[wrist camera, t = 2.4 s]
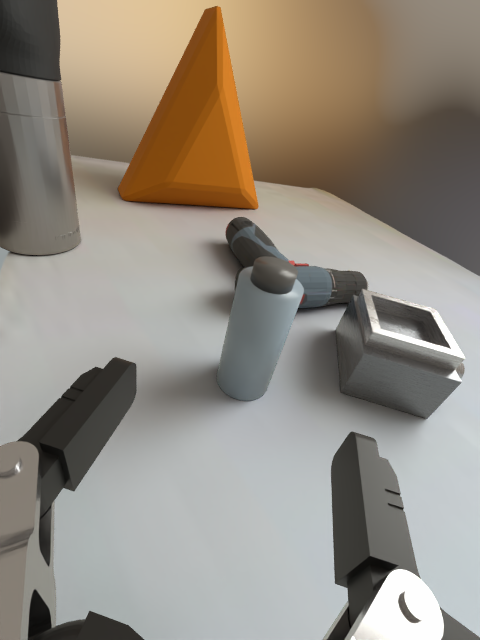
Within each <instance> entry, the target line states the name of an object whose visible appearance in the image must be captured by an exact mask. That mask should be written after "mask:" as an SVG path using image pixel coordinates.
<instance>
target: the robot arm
mask: <svg viewBox="0 0 480 640" xmlns="http://www.w3.org/2000/svg"><path fill="white" fill-rule="evenodd" d="M59 58H60V29H59V18H58V7H57V0H0V247H1V248H4V249H6V250H8V251H11V252H14V253H20V254H28V255H48V254H56V253H61V252H65V251H68V250H70V249H73V248H74V247H76V246H77V245H78V244H79V243H80V240H81V237H80V229H79V221H78V213H77V204H76V196H75V187H74V179H73V171H72V163H71V155H70V148H69V140H68V131H67V124H66V116H65V108H64V100H63V92H62V84H61V81H60V80H61V75H60V66H59ZM135 395H136V364H135V363H133V362H129V361H126V360H123V359H120V358H117V357H115V358H113V359H112V360H111V361H110V362H109V363H108V364H107V365H106V366H105V367H104V369H101V368H98V367H95V368H93V369H91V370H89V371H88V372H86V373H84V374H82V375H81V376H80V377H79V378H78V379H77V380H76V381H75V382H74V383H73V384H72V385H71V387H70V389H68V390H67V391H66V392H65V393H64V394H63V395H62V397H61V398H59V399H58V400H57V401H56V402H55V403H54V404H53V405H52V406H51V408H50V409H49V410H48V411H47V412H46V413H45V414H44V415H43V416H42V417H41V418H40V419H39V420H38V421H37V422H36V423H35V424H34V425H33V427H32V428H31V429H30V430H29V431H28V432H27V433H26V434H25V435H24V436H23V437H22V438H20V439H19V440H18V441H16V442H11V443H7V444H4V445H2V446H0V640H144V639H143V638H142V637H141V636H140V635H138V634H137V633H136V632H135V631H134V630H133V629H132V628H131V627H130V626H129V625H126V624H123V623H121V622H118V621H115V620H113V619H110V618H107V617H105V616H102V615H99V614H97V613H94V612H91V611H89V613H88V615H87V617H86V620H76V621H71V622H67V623H64V624H61V625H58V626H56V586H55V578H54V567H53V559H54V506H55V501H54V500H55V499H56V497H57V496H58V494H59V493H60V491H61V490H62V489H63V488H66V489H69V490H72V491H75V489H76V488H77V486H78V485H79V483H80V482H81V480H82V479H83V477H84V476H85V474H86V473H87V471H88V470H89V468H90V467H91V465H92V464H93V462H94V461H95V459H96V458H97V456H98V455H99V453H100V452H101V450H102V449H103V447H104V446H105V444H106V443H107V441H108V440H109V438H110V437H111V435H112V434H113V432H114V431H115V429H116V428H117V426H118V425H119V423H120V422H121V420H122V419H123V417H124V416H125V414H126V413H127V411H128V410H129V408H130V407H131V405H132V403H133V401H134V398H135ZM331 485H332V513H333V542H334V570H335V584H337V585H340V586H343V587H346V588H348V602H347V603H346V604H345V605H344V607H343V609H342V610H341V612H340V613H339V615H338V616H337V618H336V619H335V621H334V623H333V624H332V626H331V627H330V629H329V630H328V632H327V633H326V635H325V636H324V638H323V640H480V637H478V636H477V635H476V634H474V633H473V632H471V631H470V630H469V629H467V628H466V627H465V626H463V625H462V624H461V623H459V622H458V621H457V620H455V619H454V618H452V617H451V616H450V615H448V614H447V613H446V612H445V611H444V610H443V609H441V608H440V607H439V605H438V603H437V601H436V599H435V597H434V596H433V594H432V592H431V591H430V590H429V588H428V587H427V586H426V585H425V584H424V582H423V581H422V580H421V578H420V576H419V573H418V569H417V566H416V561H415V557H414V552H413V548H412V543H411V539H410V534H409V529H408V525H407V520H406V516H405V512H404V511H403V508H404V507H403V502H402V498H401V497H400V494H401V493H400V489H399V484H398V480H397V476H396V474H395V472H394V471H393V469H392V467H391V465H390V463H389V462H388V460H387V459H384V458H381V457H379V453H378V447H377V443H376V440H375V439H374V438H371V437H368V436H365V435H361V434H358V433H355V432H350V433H349V435H348V436H347V438H346V439H345V440H344V442H343V443H342V445H341V446H340V448H339V449H338V451H337V452H336V454H335V455H334V458H333V461H332V466H331Z"/></svg>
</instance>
